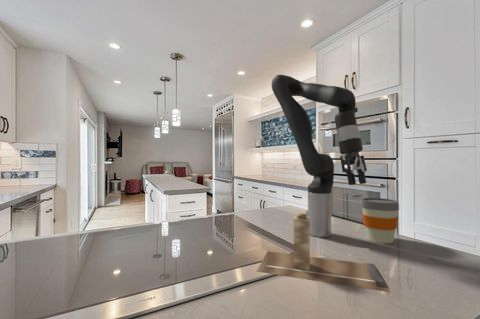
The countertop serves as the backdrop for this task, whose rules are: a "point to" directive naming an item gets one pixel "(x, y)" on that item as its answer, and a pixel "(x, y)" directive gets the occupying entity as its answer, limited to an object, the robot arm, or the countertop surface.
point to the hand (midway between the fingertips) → (357, 184)
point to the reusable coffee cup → (380, 219)
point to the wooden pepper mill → (302, 241)
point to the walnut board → (325, 271)
